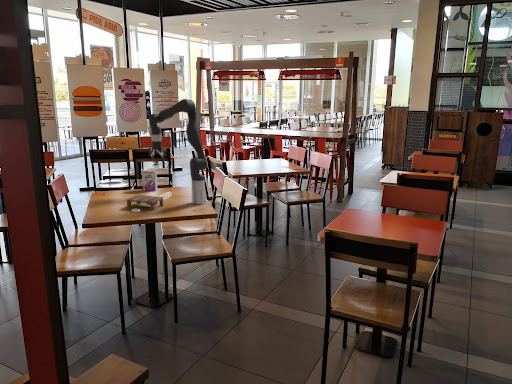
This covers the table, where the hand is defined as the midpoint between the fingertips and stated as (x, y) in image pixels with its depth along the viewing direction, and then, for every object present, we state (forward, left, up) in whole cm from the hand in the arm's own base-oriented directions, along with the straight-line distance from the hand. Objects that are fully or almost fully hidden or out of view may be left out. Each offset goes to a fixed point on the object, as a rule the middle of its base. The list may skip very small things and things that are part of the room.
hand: (157, 161), depth 311 cm
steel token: (-10, +48, -26) cm, 55 cm away
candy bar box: (+14, -10, -26) cm, 31 cm away
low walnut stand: (-10, +36, -26) cm, 46 cm away
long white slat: (-11, +15, -26) cm, 32 cm away
